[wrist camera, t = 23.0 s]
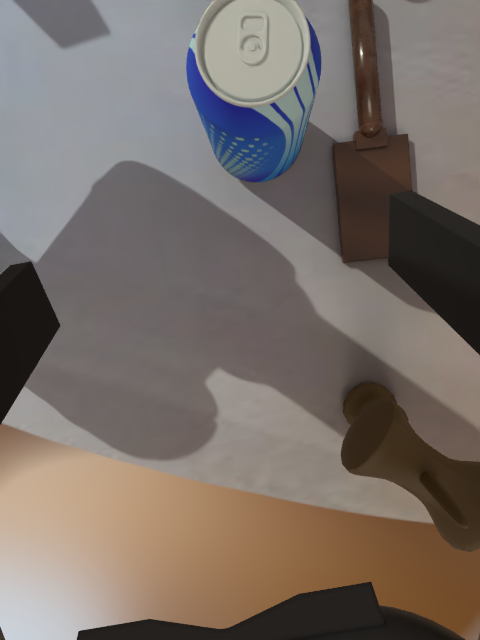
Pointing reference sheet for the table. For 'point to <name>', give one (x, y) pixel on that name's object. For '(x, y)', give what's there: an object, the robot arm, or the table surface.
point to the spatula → (368, 154)
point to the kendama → (411, 464)
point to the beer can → (254, 83)
